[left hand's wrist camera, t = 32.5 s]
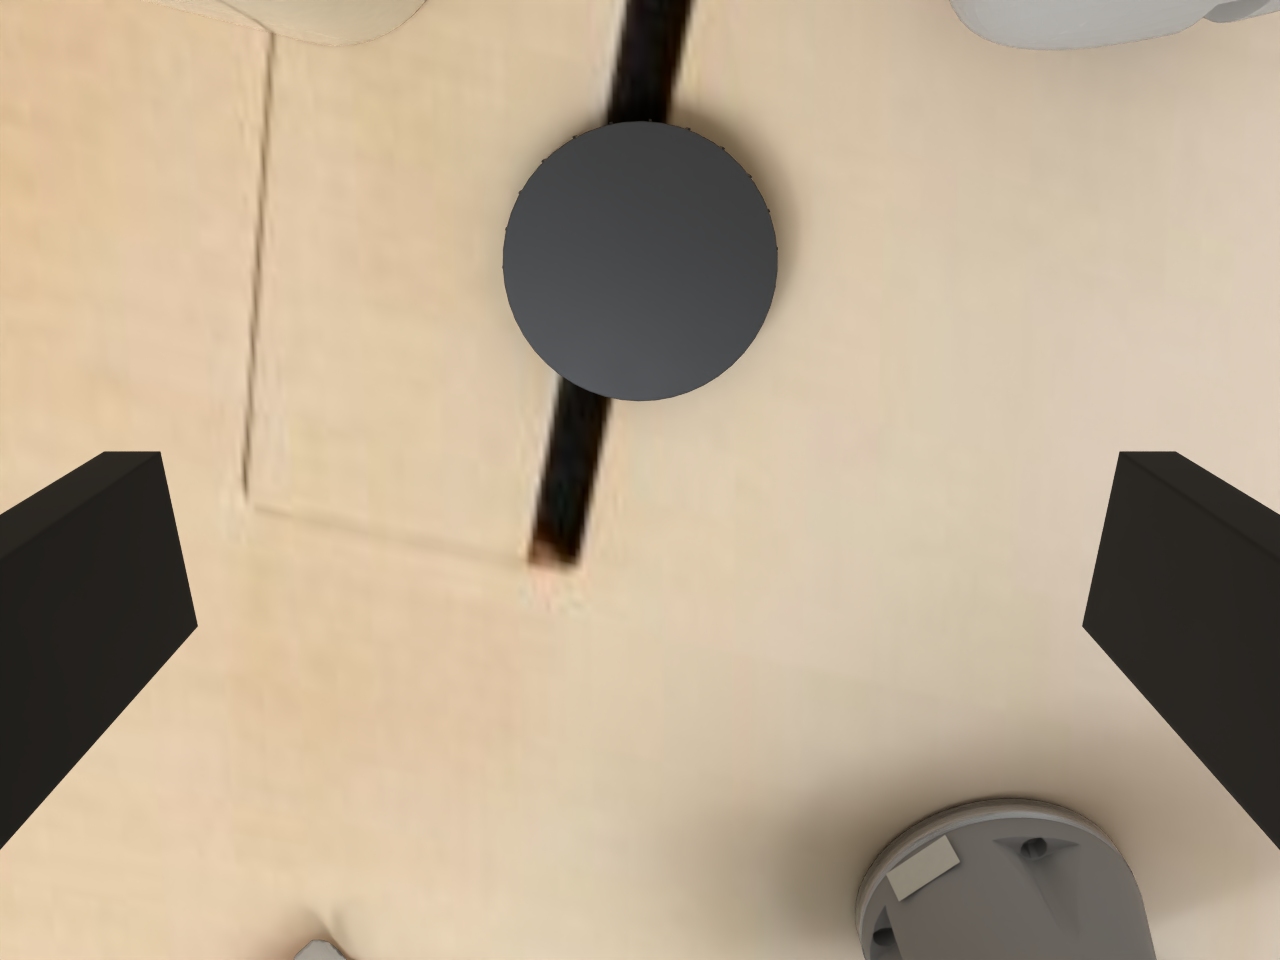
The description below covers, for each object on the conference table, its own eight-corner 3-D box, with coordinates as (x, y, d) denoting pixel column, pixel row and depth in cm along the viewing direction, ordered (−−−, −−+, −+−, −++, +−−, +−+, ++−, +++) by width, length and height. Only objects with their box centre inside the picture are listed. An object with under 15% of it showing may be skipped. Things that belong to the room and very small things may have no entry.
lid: (482, 352, 39) (474, 363, 37) (541, 83, 35) (536, 81, 33) (725, 418, 40) (729, 432, 38) (809, 165, 36) (818, 167, 34)
